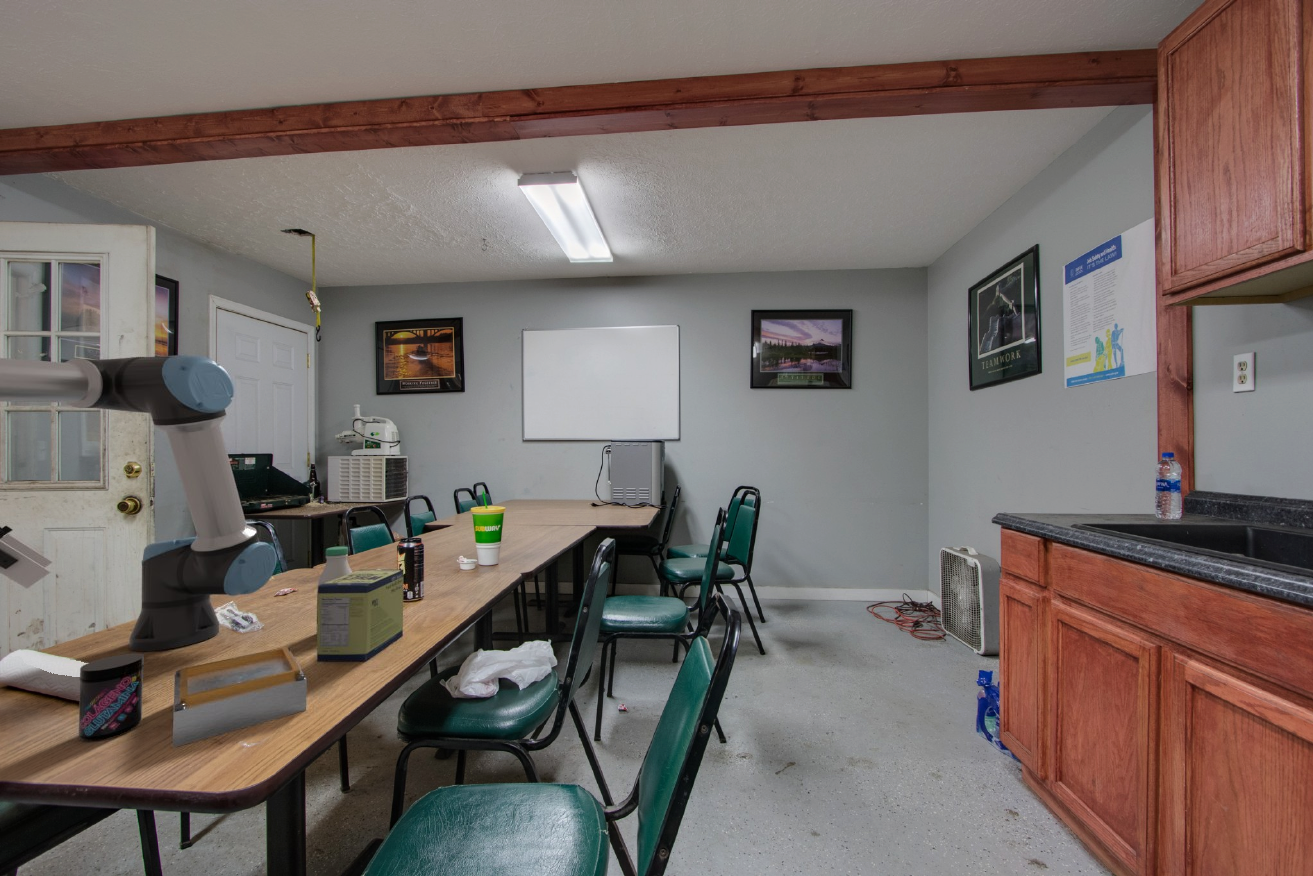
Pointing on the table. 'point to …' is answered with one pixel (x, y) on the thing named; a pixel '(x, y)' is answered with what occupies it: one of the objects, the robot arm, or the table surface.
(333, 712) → the table surface
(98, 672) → the supplement container
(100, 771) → the table surface
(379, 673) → the table surface
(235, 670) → the wood-rimmed grey tray
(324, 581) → the milk bottle
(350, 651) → the protein box
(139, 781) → the table surface
